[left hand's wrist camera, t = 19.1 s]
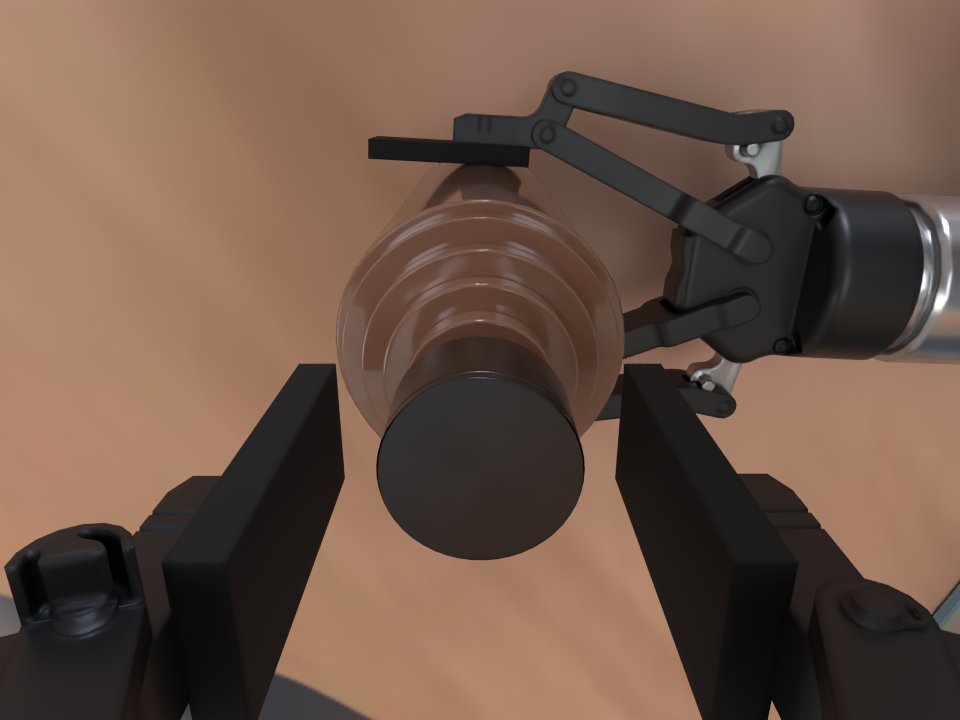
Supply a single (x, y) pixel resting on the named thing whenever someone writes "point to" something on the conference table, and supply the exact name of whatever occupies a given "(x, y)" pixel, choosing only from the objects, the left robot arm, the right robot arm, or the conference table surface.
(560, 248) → the bottle
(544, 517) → the cap
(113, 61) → the conference table surface
